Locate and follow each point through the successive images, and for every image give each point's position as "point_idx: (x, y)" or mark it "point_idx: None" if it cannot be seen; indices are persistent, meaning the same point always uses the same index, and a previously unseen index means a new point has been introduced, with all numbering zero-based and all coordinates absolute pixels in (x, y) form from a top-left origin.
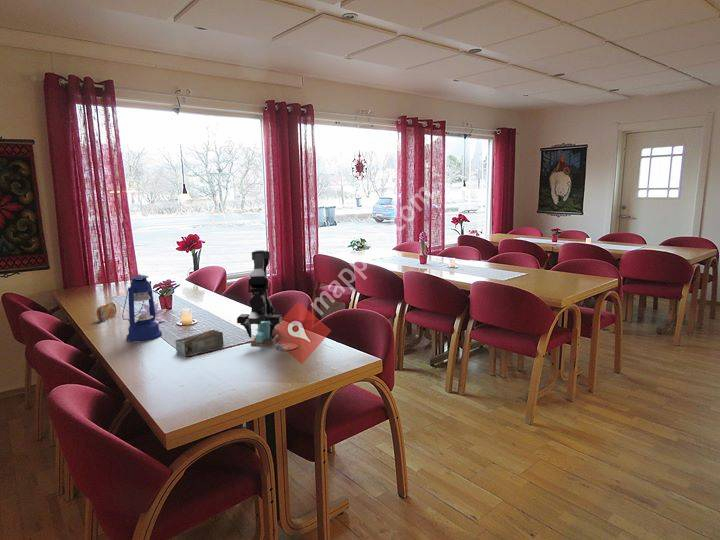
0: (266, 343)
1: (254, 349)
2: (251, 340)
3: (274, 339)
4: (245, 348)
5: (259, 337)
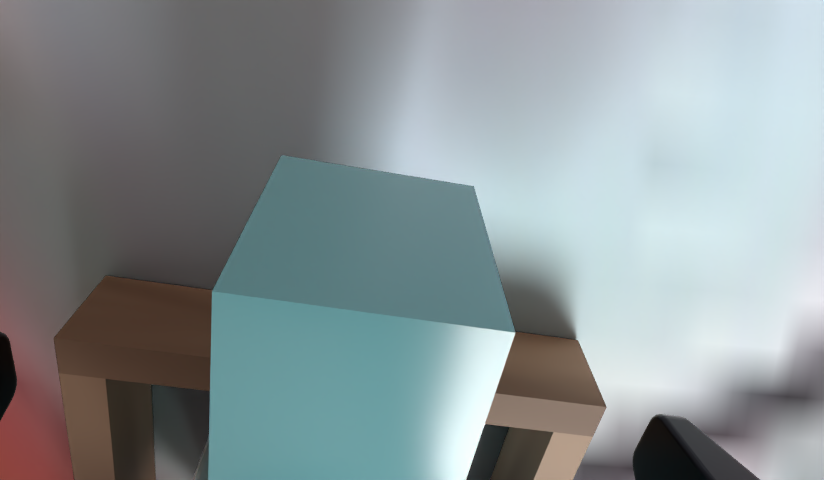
0: None
1: (490, 60)
2: (590, 424)
3: (72, 445)
4: (704, 158)
5: (327, 249)
